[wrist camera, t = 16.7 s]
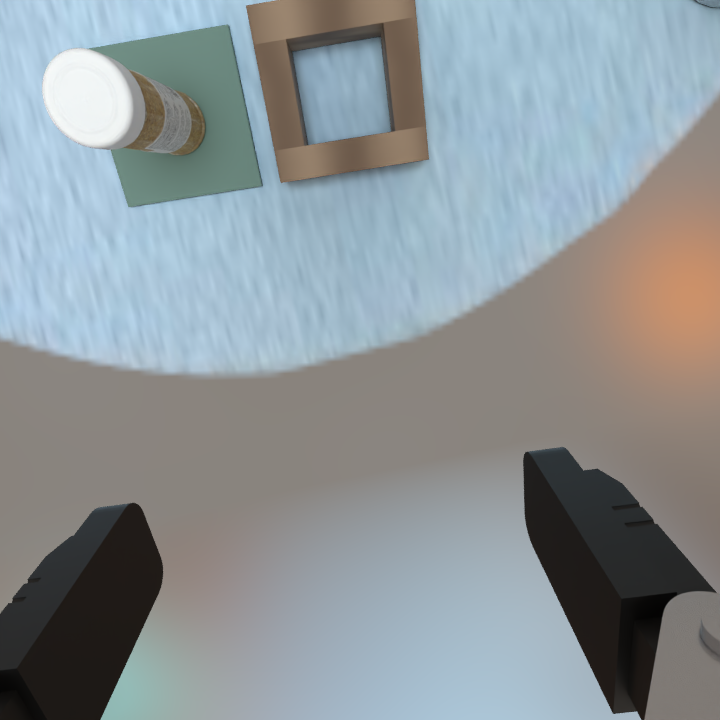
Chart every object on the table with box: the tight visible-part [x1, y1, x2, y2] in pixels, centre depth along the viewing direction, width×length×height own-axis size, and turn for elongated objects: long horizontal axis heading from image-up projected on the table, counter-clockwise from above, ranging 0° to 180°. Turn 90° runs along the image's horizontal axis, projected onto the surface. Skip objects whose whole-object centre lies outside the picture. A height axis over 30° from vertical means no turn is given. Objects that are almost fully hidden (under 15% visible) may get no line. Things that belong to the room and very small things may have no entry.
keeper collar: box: [246, 0, 429, 183], centre depth 35 cm, size 11×11×4 cm
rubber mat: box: [89, 25, 262, 207], centre depth 37 cm, size 11×11×1 cm
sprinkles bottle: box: [42, 48, 205, 155], centre depth 30 cm, size 5×5×13 cm
